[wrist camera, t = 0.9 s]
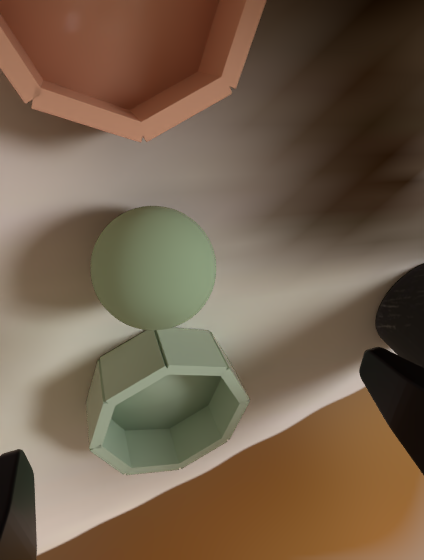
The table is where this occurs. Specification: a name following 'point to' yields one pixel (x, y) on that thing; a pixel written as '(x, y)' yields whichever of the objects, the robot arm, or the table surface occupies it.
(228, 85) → the terracotta cup
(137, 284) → the ball
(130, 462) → the green cup
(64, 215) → the table surface
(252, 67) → the table surface
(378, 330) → the travel mug
